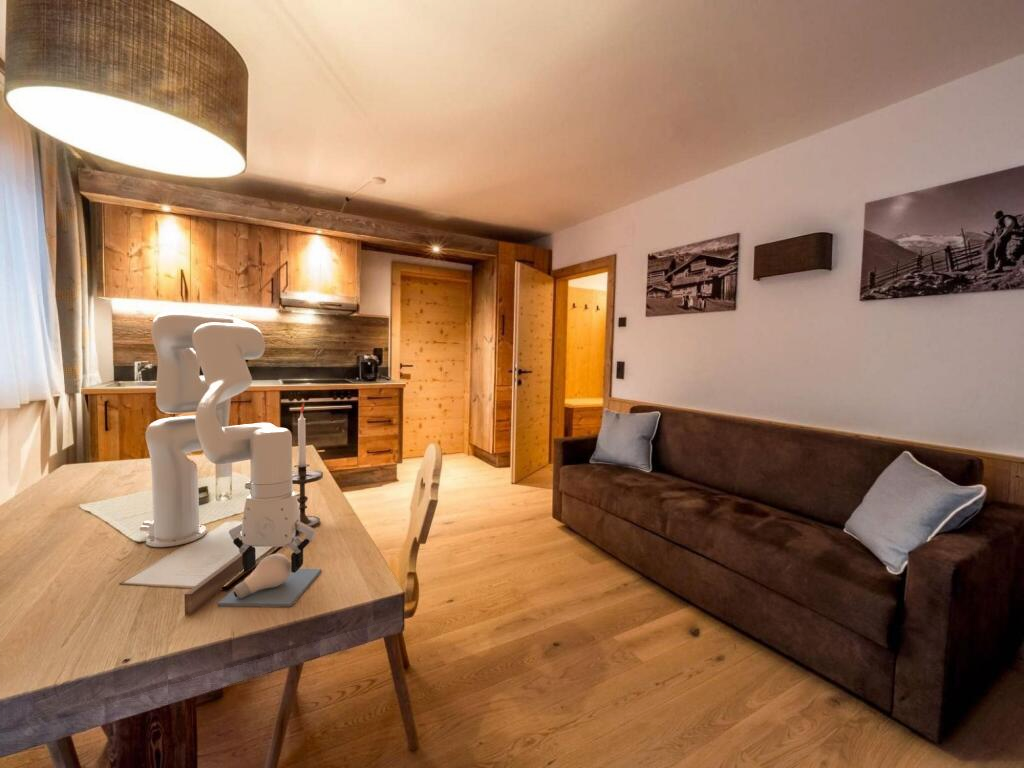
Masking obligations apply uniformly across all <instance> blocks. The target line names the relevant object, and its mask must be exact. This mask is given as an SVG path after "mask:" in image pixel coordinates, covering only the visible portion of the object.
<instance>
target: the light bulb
mask: <svg viewBox="0 0 1024 768" xmlns="http://www.w3.org/2000/svg"><path fill="white" fill-rule="evenodd" d="M290 573H291V560H289V558H288V557H287V556H286V555H284V554H282V553H272V554H269V555H267V556H265V557H264V558H263V559H262V560H260V561H259V563H258V564H256V567H255V569H253V570H252V572H251V573H250V574H249V575H248V576H247V577H246V578H244V580H243V581H242V582H239V584H236V585H235V586H234V588H233V589H234V596H235V597H237V598H240V599H242V598H244V597H245V596H247V595H248V594H250V593H254V592H256V591H258V590H262V589H266V588H273V587H277V586H279V585H281V584H283V583H284V582H285V581H286V580H287V579H288V577H289V575H290Z"/></svg>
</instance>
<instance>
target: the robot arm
mask: <svg viewBox="0 0 1024 768" xmlns="http://www.w3.org/2000/svg"><path fill="white" fill-rule="evenodd" d="M150 331H151V335H150V336H151V339H152V342H153V346H154V349H155V352H156V356H157V371H156V388H155V389H156V390H155V403H156V407H157V409H158V410H159V411H160V412H162V413H165V414H170V415H174V414H175V415H177V414H192V413H195V415H183V416H173V417H172V416H170V417H165V418H160V419H157V420H155V421H153V422H151V423H150V424H149V425H148V426H147V427H146V429H145V430H146V431H145V442H146V444H147V446H146V447H147V450H148V454H149V458H150V460H149V461H150V466H151V467H150V469H151V493H152V519H153V520H144V521H143V523H142V524H141V526H140V527H139V531H140V532H149V533H148V534H149V535H148V536H146V538H145V544H146V545H147V546H149V547H152V548H168V547H174V546H175V547H176V546H180V545H184V544H188V543H191V542H194V541H197V540H200V539H201V538H202V537H204V536H205V535H206V534H207V531H208V530H207V527H206V526H205V525H203V524H200V503H199V502H200V501H199V499H200V498H199V493H200V492H199V469H198V466H197V464H196V463H195V462H194V461H193V460H191V458H189V457H188V456H187V454H189V453H193V452H200V451H202V452H203V453H204V456H205V457H206V460H208V461H209V462H210V463H213V464H215V465H229V464H233V463H239V462H243V461H249V460H250V481H249V482H246V483H245V484H244V488H245V490H249V491H250V492H249V495H247V496H246V499H245V503H244V508H243V514H242V523H241V524H239V525H236V526H235V527H232V528H231V529H230V530H229V531H228V534H229V535H230V537H231V540H232V541H233V542H232V543H233V544H234V545H235V546H236V547H237V548H238V551H239V553H242V564H243V566H244V572H243V573H247V572H249V571H250V570H252V569H253V568H254V567H255V566H257V563H256V562H257V560H256V559H257V558H256V556H257V553H256V547H260V548H262V547H263V548H264V547H265V548H266V547H267V548H269V547H270V548H274V547H275V548H277V547H279V548H280V547H281V548H282V547H287V546H288V547H289V548H290V549H291V551H292V553H291V555H290V562H291V572H292V573H295V572H296V571H297V570H298V569H301V567H302V566H303V564H304V549H305V548H306V547H307V546H308V545H309V544H311V542H312V540H313V539H314V536H315V534H316V533H317V531H316V529H315V527H314V528H312V527H310V526H308V525H306V524H304V523H302V522H300V509H299V506H300V505H299V502H298V501H297V498H298V497H297V494H296V492H294V491H293V484H292V472H293V434H292V432H291V430H289V429H288V428H286V427H279V426H276V425H274V424H273V423H270V422H256V423H247V424H239V425H230V424H229V422H230V415H231V414H230V412H231V399H232V398H233V397H235V396H238V395H240V394H242V393H244V392H245V391H246V390H247V389H248V388H249V387H251V384H252V382H253V377H252V375H251V373H250V370H249V368H248V367H249V366H248V365H247V362H246V360H248V361H249V360H258V359H260V358H261V357H262V356H264V352H265V351H266V341H265V338H264V337H265V336H264V335H263V333H262V331H261V330H260V329H259V328H258V327H257V326H255V325H253V324H251V323H249V322H246V321H245V320H241V319H239V318H237V317H232V316H227V315H219V314H217V315H216V314H206V313H195V312H184V311H180V312H179V311H168V312H162V313H160V314H158V315H157V316H155V317H154V319H153V321H152V324H151V329H150ZM200 370H201V371H202V374H203V375H200V372H201V371H200ZM301 533H302V534H304V535H305V536H304V539H302V538H301V537H300V536H301Z"/></svg>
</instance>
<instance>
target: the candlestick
mask: <svg viewBox="0 0 1024 768" xmlns="http://www.w3.org/2000/svg"><path fill="white" fill-rule="evenodd" d="M304 410H305V403H302V405H301V407H300V410H299V411H300V412H299V413H300V415H299V418H298V419H297V421H298V422H297V440H298V441H297V445H298V446H297V448H298V449H297V451H298V452H297V453H298V461H297V462H298V464H295V465H294V466H293V467H294V468H297V470H294V471H293V470H292V485H299V496H298V497H297V501H298V504H299V505H298V506H299V513H300V522H302V523H304V524H306V525H308V526H310V527H312V528H314V529H315V528H317V527H318V526H319V525H321V519H320V517H319V516H314V515H306V509H308V506H307V505H306V502H307V501H308V500H309V497H308V496H307V495H306V484H308V483H313V482H317V481H320V480H322V479H323V478H324V472H323V471H321V470H316V469H307V467H310V466H311V465H310V464H308V463H307V460H306V459H307V458H306V457H307V456H306V455H307V454H306V453H307V452H306V451H307V450H306V446H307V444H306V439H307V438H306V417H305V416H304V414H303V413H304ZM304 417H305V418H304Z"/></svg>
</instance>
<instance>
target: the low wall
mask: <svg viewBox="0 0 1024 768" xmlns="http://www.w3.org/2000/svg"><path fill="white" fill-rule="evenodd" d="M243 569H244V566H243V564H242V553H240V552H239V553H238V554H237V555H235V556H234V557H233V558H231V559H230V560H228V561H227V562H226V563H224V564H222V566H220V567H219V568H218V569H216V570H215V571H214V572H213V571H212V573H210V575H208V576H206V578H204V579H202V580H201V581H200V582H199V583H197V584H196V585H195V586H193V587H192V588H190V589H189V590H188V591H186V592H185V593H184V596H183V597H184V600H183V601H184V616H192V615H193V614H194V613H197V611H198V610H200V609H201V608H202V607H203V606H204V605H205V604H206V603H208V602H209V601H211V599H213V598H214V597H215V596H217V594H219V593H220V592H221V591H222V590H223V589H222V587H223V586H224V585H225V584H226V583H227V582H229V581H230V580H231V579H232V578H233V577H234V576H236V575H237V574H238V573H239V572H241V571H242V570H243Z"/></svg>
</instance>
